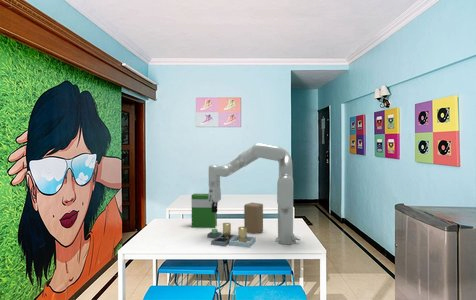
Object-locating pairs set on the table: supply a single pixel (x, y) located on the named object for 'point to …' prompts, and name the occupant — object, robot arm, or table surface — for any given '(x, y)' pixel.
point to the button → (215, 231)
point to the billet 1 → (226, 230)
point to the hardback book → (202, 212)
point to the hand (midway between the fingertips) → (214, 212)
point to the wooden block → (253, 217)
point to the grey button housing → (213, 235)
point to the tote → (242, 244)
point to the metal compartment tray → (221, 240)
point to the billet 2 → (242, 234)
